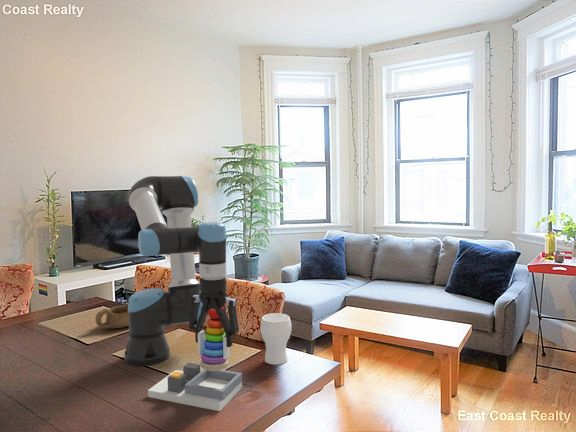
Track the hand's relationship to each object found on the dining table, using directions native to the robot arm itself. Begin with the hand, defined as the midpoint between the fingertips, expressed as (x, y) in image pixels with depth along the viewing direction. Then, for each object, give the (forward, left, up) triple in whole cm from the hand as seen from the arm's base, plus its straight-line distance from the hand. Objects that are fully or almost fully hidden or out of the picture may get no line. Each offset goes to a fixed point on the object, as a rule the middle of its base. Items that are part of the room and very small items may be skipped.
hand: (214, 355), depth 126 cm
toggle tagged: (-9, -5, -10) cm, 14 cm away
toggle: (-9, +3, -10) cm, 13 cm away
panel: (-6, -1, -12) cm, 13 cm away
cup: (+8, +28, -12) cm, 32 cm away
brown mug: (-66, +37, -12) cm, 76 cm away
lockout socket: (0, 0, -10) cm, 10 cm away
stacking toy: (0, 0, -4) cm, 4 cm away
